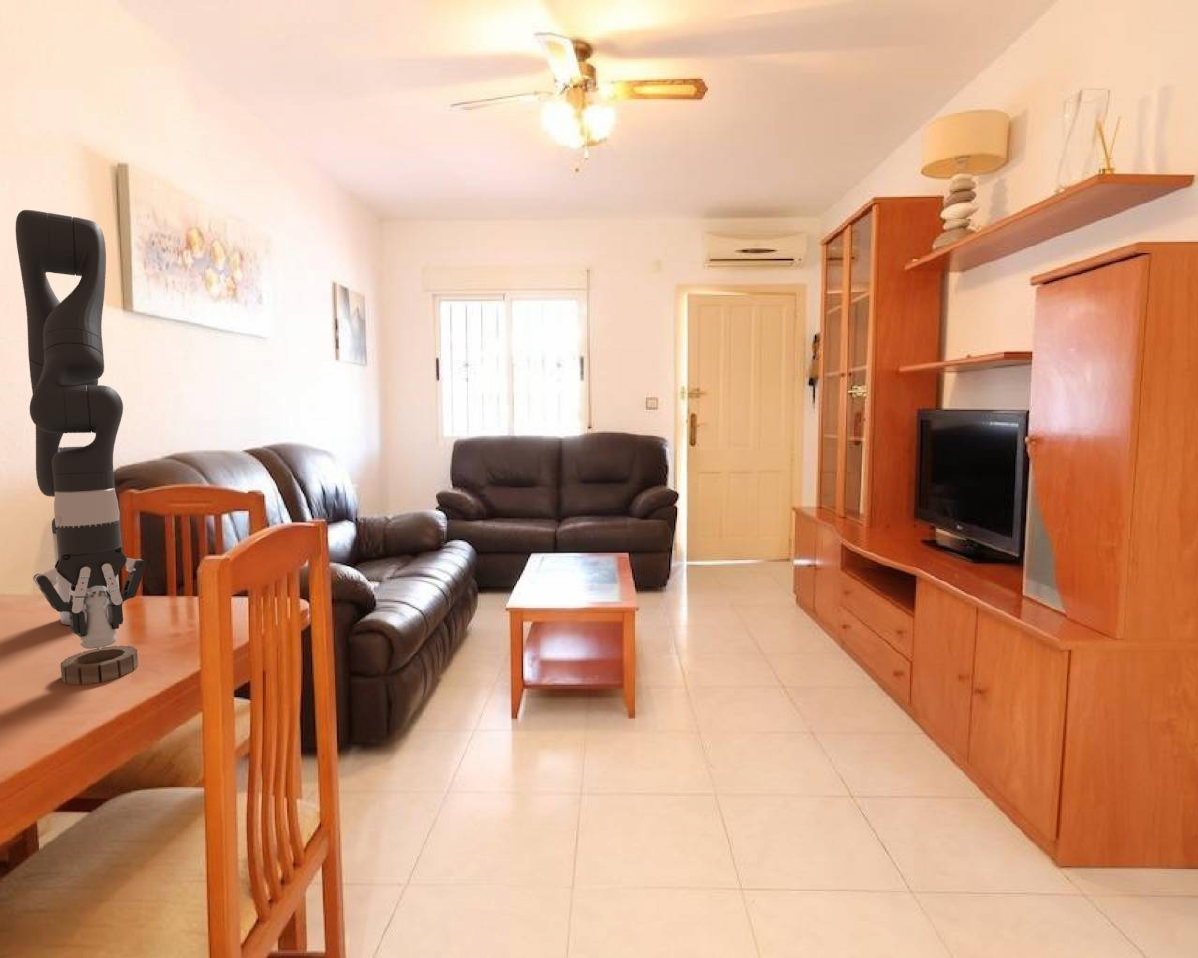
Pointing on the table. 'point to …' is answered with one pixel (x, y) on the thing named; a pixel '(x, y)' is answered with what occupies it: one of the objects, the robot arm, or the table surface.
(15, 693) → the table surface
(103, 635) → the rook chess piece
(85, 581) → the robot arm
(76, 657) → the walnut ring bead
